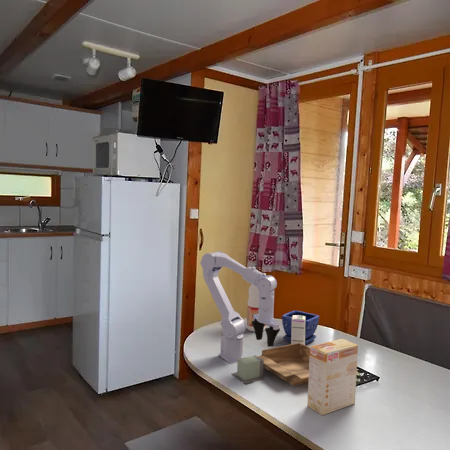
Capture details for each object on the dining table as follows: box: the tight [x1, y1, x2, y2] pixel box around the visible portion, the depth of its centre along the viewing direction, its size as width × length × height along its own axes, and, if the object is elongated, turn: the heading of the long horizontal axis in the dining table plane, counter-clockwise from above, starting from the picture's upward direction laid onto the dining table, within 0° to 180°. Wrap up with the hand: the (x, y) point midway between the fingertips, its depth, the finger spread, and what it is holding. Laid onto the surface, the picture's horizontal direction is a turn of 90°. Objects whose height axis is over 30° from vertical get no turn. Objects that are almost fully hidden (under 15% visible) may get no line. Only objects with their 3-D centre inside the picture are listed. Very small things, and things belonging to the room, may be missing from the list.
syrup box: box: [290, 315, 306, 345], centre depth 181 cm, size 6×6×14 cm
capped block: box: [236, 355, 264, 380], centre depth 153 cm, size 5×8×6 cm, turn 121°
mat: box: [231, 371, 267, 385], centre depth 153 cm, size 9×9×1 cm
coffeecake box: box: [307, 338, 359, 416], centre depth 133 cm, size 15×7×20 cm, turn 123°
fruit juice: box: [246, 283, 267, 333], centre depth 207 cm, size 9×9×28 cm
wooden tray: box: [257, 343, 310, 387], centre depth 156 cm, size 23×23×6 cm
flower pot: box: [281, 310, 320, 345], centre depth 193 cm, size 13×13×12 cm
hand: (264, 342), depth 162 cm, fingers open, 7 cm apart
